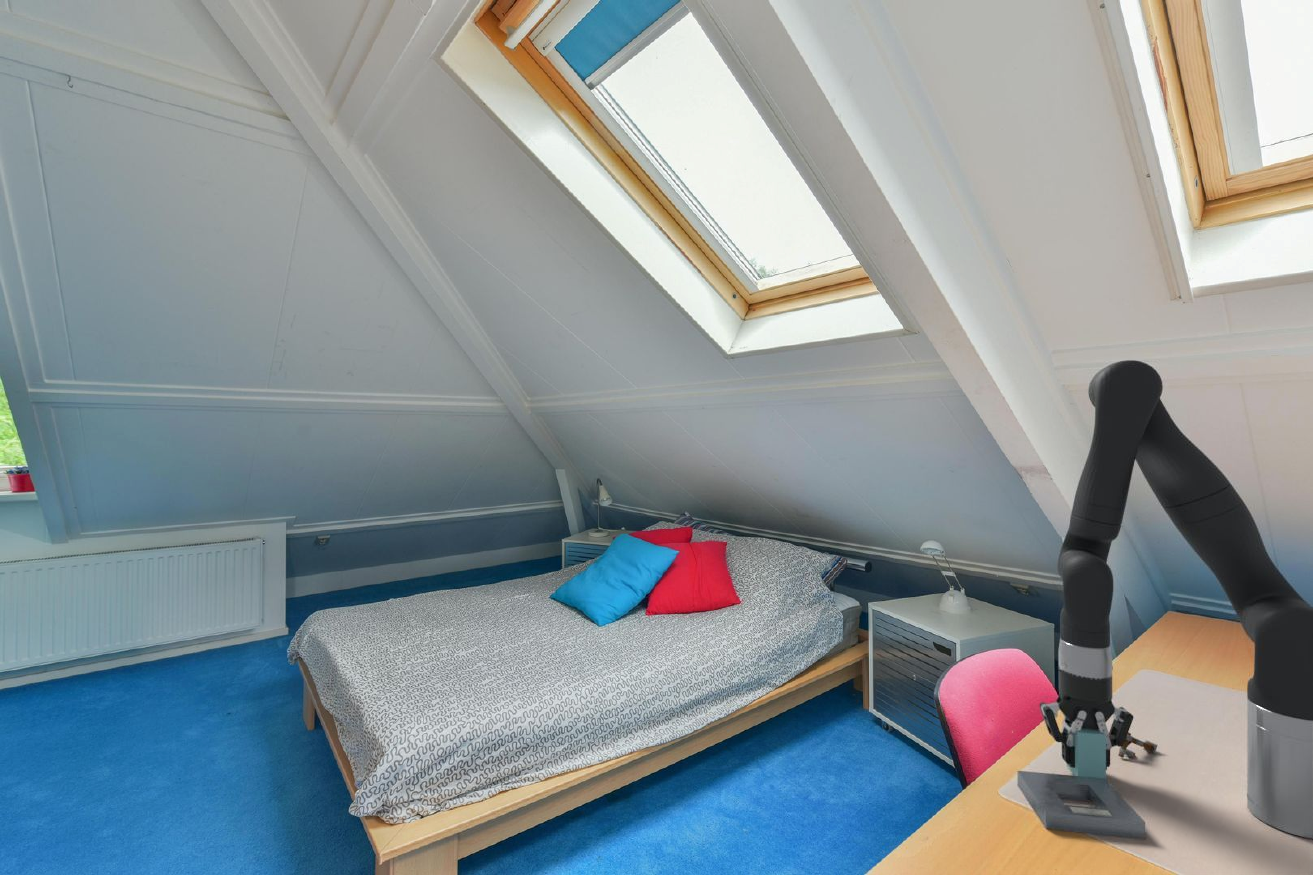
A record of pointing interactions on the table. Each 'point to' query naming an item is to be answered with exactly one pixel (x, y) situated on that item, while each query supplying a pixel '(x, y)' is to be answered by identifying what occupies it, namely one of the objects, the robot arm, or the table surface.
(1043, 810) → the rail plate
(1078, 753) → the teal peg
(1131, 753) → the brown piece
